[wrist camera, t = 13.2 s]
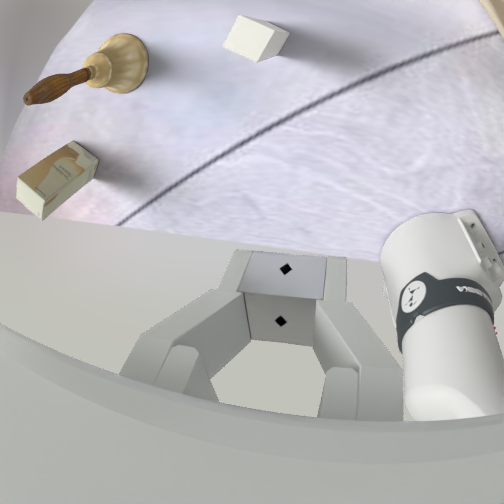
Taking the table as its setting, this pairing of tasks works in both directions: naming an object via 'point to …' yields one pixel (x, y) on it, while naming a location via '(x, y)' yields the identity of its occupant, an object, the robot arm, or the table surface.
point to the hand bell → (99, 71)
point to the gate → (495, 12)
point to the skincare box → (55, 179)
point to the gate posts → (255, 38)
